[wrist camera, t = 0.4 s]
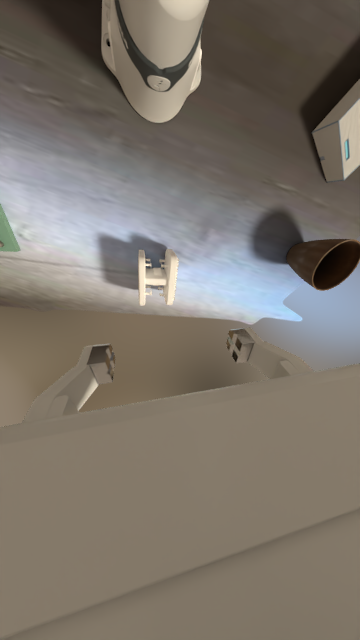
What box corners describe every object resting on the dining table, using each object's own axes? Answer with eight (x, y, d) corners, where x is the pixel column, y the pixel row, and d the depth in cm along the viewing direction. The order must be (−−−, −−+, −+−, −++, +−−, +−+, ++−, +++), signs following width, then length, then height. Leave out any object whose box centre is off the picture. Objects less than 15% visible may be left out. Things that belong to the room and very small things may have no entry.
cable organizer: (138, 244, 49) (137, 254, 40) (172, 248, 52) (180, 257, 42) (139, 291, 58) (138, 307, 48) (168, 291, 60) (174, 308, 51)
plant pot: (321, 247, 62) (369, 258, 49) (289, 280, 68) (324, 298, 55) (303, 222, 55) (352, 227, 42) (269, 261, 61) (303, 276, 48)
